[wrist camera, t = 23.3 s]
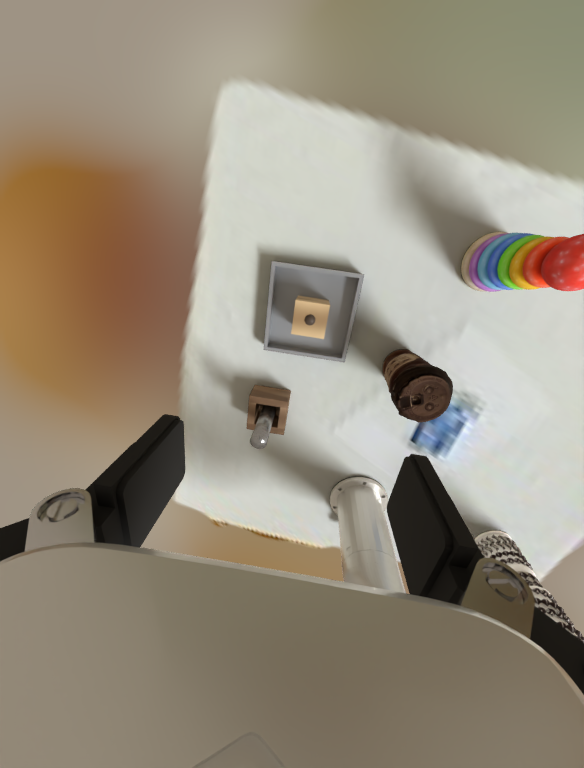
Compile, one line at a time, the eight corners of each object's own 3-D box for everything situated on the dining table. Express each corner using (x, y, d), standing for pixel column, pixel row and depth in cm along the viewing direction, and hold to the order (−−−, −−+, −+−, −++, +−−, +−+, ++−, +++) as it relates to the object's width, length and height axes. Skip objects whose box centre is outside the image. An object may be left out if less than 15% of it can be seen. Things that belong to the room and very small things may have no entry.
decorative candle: (503, 523, 61) (612, 677, 39) (520, 547, 64) (632, 705, 41) (463, 538, 64) (543, 690, 42) (481, 560, 67) (565, 715, 44)
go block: (286, 420, 56) (283, 434, 51) (252, 415, 56) (246, 428, 51) (290, 390, 53) (288, 402, 48) (255, 384, 53) (249, 395, 49)
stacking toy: (505, 220, 39) (651, 187, 22) (524, 269, 41) (669, 275, 24) (450, 255, 41) (543, 250, 24) (470, 300, 44) (569, 325, 27)
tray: (343, 357, 49) (344, 362, 47) (266, 345, 49) (263, 349, 47) (361, 273, 43) (364, 274, 41) (274, 261, 44) (271, 261, 41)
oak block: (323, 330, 47) (323, 339, 41) (294, 325, 47) (290, 334, 41) (328, 299, 45) (330, 305, 39) (298, 295, 45) (295, 299, 39)
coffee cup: (365, 374, 50) (379, 409, 38) (391, 334, 47) (416, 358, 35) (406, 394, 51) (432, 435, 39) (434, 356, 48) (473, 388, 36)
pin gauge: (276, 412, 54) (265, 450, 43) (263, 409, 54) (249, 447, 43) (278, 400, 53) (267, 436, 42) (264, 398, 53) (251, 433, 42)
